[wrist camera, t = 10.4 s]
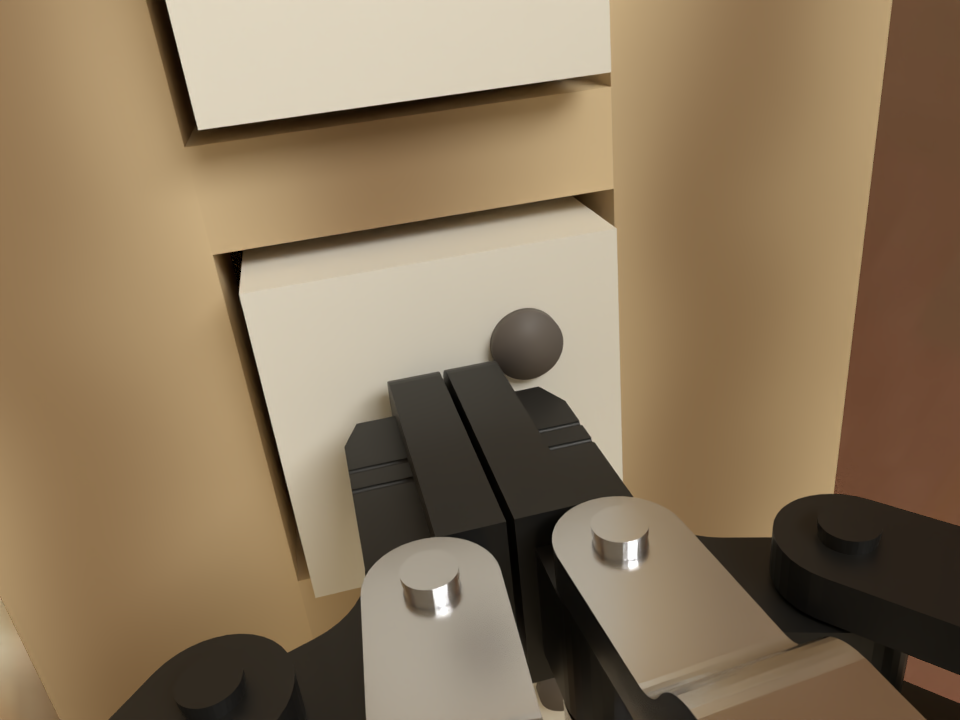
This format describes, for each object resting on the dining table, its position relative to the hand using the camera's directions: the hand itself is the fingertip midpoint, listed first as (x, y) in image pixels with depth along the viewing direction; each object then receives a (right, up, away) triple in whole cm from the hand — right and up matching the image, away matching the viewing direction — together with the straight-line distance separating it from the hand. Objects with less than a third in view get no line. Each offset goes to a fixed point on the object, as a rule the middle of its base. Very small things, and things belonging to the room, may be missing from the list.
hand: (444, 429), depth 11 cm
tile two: (0, +1, +2) cm, 3 cm away
